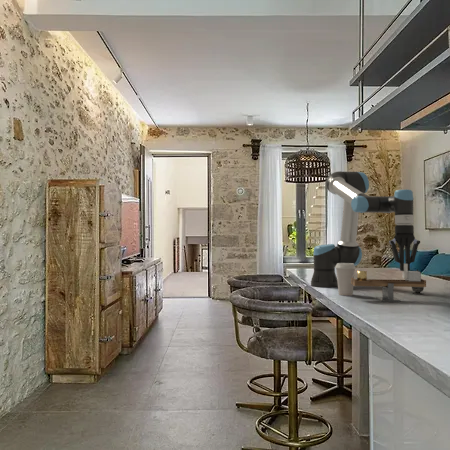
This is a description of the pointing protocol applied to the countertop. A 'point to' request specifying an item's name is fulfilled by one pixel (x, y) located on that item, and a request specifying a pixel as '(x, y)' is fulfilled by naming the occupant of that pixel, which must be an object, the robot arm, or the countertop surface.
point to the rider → (413, 276)
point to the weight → (361, 275)
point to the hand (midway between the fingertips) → (405, 278)
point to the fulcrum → (388, 294)
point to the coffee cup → (345, 278)
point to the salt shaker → (417, 289)
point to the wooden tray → (385, 282)
